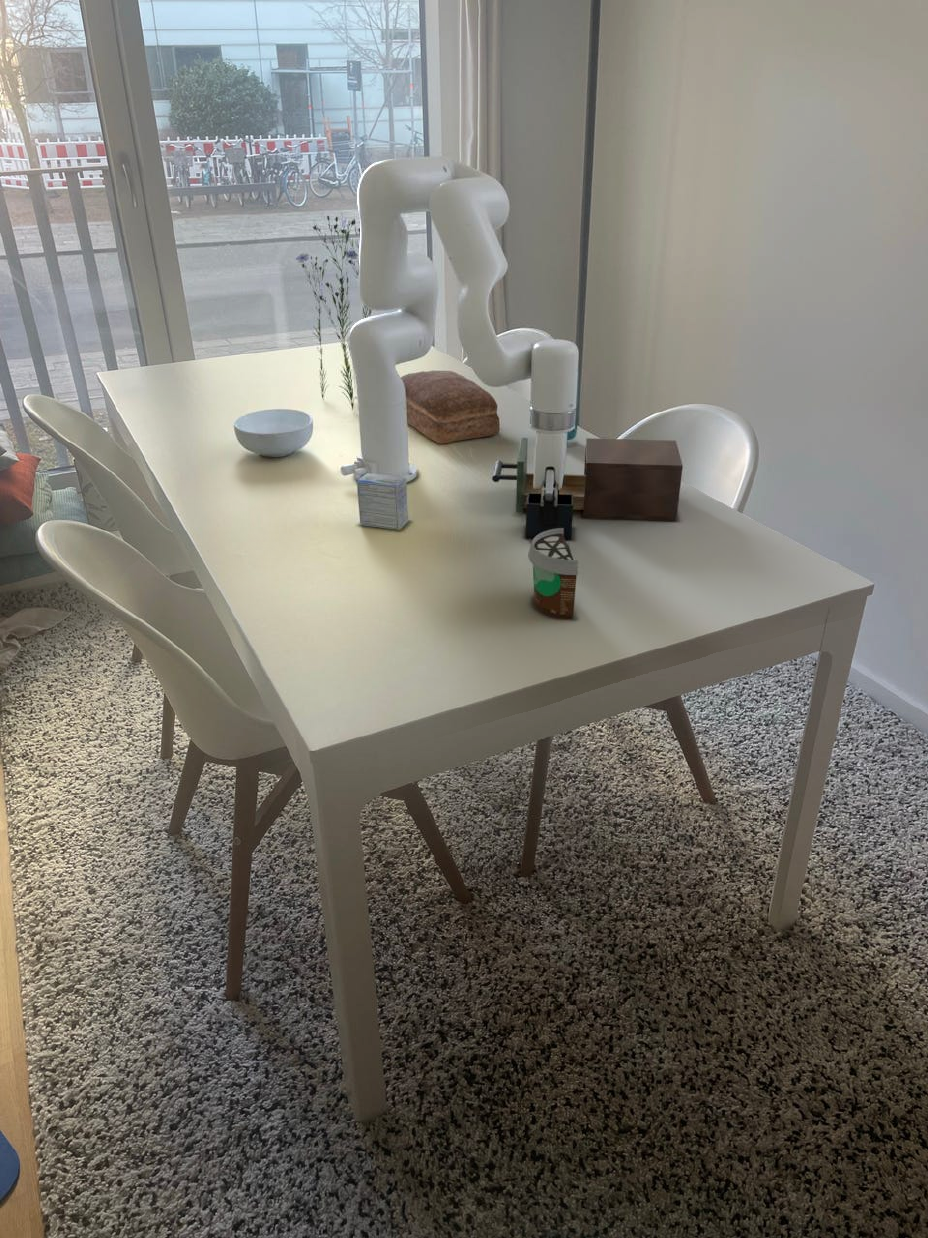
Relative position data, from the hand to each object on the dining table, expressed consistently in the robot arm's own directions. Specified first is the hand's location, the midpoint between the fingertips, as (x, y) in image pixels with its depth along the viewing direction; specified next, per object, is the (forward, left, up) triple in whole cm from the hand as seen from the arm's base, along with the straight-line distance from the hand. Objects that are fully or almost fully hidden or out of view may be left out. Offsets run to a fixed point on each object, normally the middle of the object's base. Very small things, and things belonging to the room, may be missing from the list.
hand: (548, 517), depth 158 cm
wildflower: (+17, +90, -3) cm, 92 cm away
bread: (+24, +62, -3) cm, 67 cm away
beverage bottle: (+36, +34, -3) cm, 50 cm away
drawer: (+10, +10, -2) cm, 14 cm away
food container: (-18, -19, -3) cm, 26 cm away
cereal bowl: (-16, +70, -3) cm, 72 cm away
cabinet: (+20, 0, -3) cm, 20 cm away
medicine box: (-20, +22, -3) cm, 30 cm away
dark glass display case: (0, 0, -3) cm, 3 cm away
